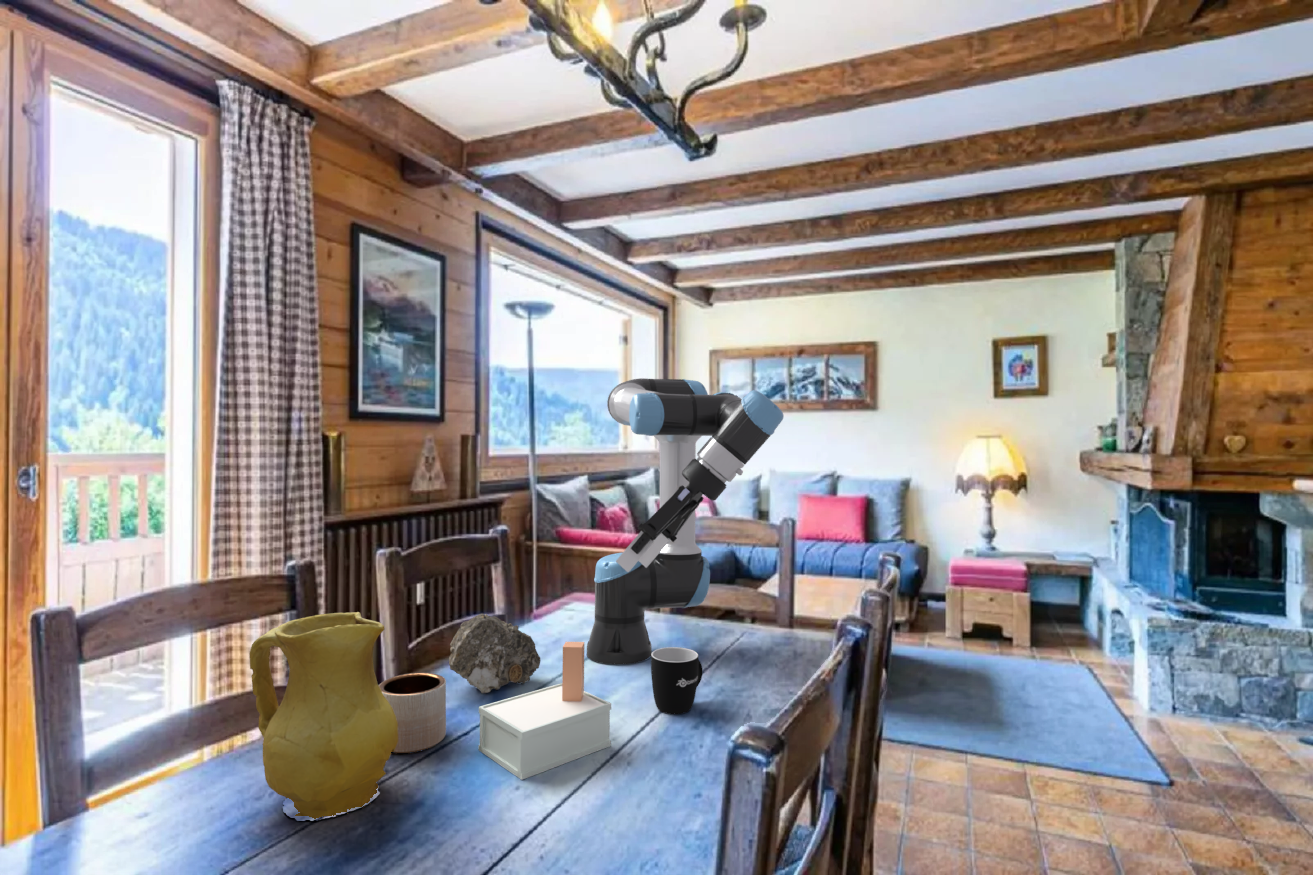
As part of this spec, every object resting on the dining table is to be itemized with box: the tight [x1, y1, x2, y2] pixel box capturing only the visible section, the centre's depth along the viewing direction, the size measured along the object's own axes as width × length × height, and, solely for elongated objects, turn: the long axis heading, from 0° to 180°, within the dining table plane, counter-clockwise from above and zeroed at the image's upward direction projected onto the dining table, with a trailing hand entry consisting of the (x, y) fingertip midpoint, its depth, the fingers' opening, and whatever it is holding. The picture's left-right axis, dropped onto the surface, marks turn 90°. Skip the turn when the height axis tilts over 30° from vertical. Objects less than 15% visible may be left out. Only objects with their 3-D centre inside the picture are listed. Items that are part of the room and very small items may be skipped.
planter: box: [378, 672, 447, 754], centre depth 115 cm, size 11×11×10 cm
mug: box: [650, 646, 703, 715], centre depth 131 cm, size 12×9×10 cm
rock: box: [448, 613, 541, 694], centre depth 142 cm, size 18×14×15 cm
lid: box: [485, 641, 604, 731], centre depth 113 cm, size 16×12×10 cm
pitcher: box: [248, 611, 398, 819], centre depth 97 cm, size 17×19×25 cm
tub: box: [477, 682, 612, 781], centre depth 113 cm, size 17×13×7 cm
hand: (631, 564), depth 119 cm, fingers open, 13 cm apart
